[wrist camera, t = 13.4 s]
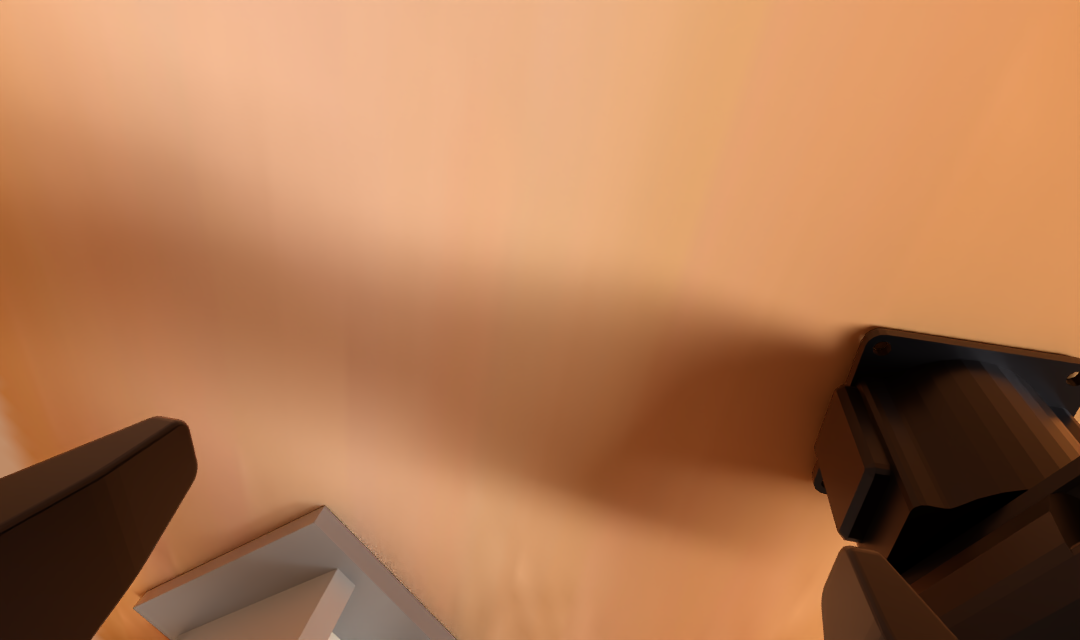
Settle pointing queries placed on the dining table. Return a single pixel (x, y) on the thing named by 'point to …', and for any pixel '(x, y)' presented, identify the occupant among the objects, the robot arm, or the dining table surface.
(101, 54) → the dining table surface
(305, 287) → the dining table surface
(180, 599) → the slot rack
